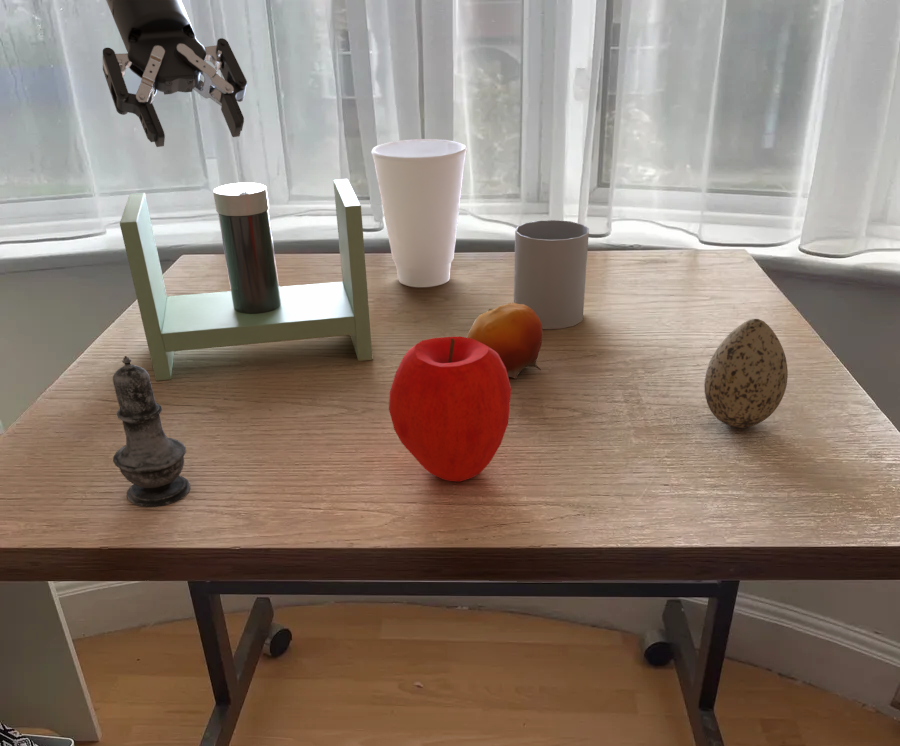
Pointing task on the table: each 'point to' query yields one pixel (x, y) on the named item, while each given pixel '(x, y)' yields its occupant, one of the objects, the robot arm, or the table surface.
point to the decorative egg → (746, 375)
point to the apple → (451, 405)
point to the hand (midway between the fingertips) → (199, 136)
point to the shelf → (213, 313)
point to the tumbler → (248, 246)
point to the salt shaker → (146, 443)
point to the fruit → (510, 335)
